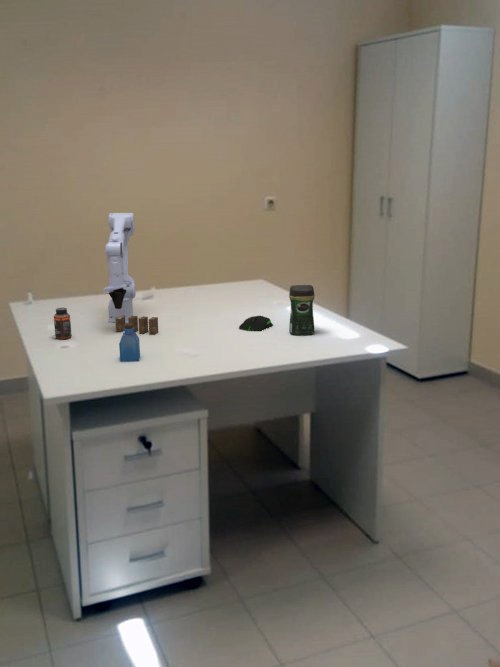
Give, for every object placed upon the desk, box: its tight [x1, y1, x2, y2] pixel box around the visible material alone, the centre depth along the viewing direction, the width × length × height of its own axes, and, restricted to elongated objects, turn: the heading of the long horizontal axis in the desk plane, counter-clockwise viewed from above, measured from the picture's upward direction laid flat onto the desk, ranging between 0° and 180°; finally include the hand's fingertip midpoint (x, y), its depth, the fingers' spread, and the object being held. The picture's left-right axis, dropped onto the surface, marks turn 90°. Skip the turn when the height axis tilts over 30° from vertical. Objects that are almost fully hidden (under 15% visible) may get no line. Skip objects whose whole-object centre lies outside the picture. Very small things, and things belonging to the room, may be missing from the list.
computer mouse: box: [238, 315, 274, 332], centre depth 283 cm, size 11×16×4 cm
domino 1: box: [128, 315, 139, 333], centre depth 275 cm, size 2×4×6 cm, turn 163°
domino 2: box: [138, 315, 149, 335], centre depth 274 cm, size 2×4×6 cm, turn 163°
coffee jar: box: [288, 284, 316, 336], centre depth 270 cm, size 10×8×19 cm
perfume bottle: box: [118, 323, 141, 363], centre depth 241 cm, size 6×6×12 cm
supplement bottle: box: [53, 307, 72, 341], centre depth 267 cm, size 6×6×11 cm
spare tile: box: [115, 315, 126, 333], centre depth 277 cm, size 2×4×6 cm, turn 162°
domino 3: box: [148, 316, 159, 336], centre depth 273 cm, size 2×4×6 cm, turn 163°
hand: (118, 308), depth 275 cm, fingers closed
